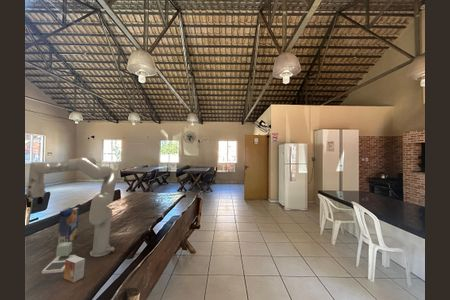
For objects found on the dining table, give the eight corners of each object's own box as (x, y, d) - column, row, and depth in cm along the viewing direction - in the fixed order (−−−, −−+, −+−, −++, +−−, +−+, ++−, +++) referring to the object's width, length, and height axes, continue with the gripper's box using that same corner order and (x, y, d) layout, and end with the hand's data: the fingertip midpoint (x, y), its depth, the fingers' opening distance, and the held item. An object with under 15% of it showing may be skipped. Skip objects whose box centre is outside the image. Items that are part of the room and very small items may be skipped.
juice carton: (68, 244, 154) (71, 211, 155) (57, 244, 153) (59, 211, 154) (76, 237, 166) (79, 207, 167) (66, 237, 165) (68, 207, 166)
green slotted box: (60, 252, 133) (61, 242, 133) (71, 251, 135) (72, 241, 135) (56, 256, 127) (56, 246, 128) (67, 255, 129) (68, 245, 129)
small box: (63, 278, 113) (65, 259, 114) (74, 273, 118) (75, 255, 119) (73, 282, 110) (74, 262, 111) (83, 277, 116) (85, 258, 116)
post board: (57, 258, 134) (58, 243, 134) (75, 257, 137) (76, 242, 137) (41, 273, 117) (43, 256, 117) (62, 272, 119) (63, 255, 120)
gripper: (31, 182, 133) (29, 209, 132) (51, 179, 150) (49, 202, 149) (19, 181, 132) (16, 208, 132) (40, 178, 149) (38, 202, 149)
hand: (34, 205), depth 141 cm, fingers open, 9 cm apart
